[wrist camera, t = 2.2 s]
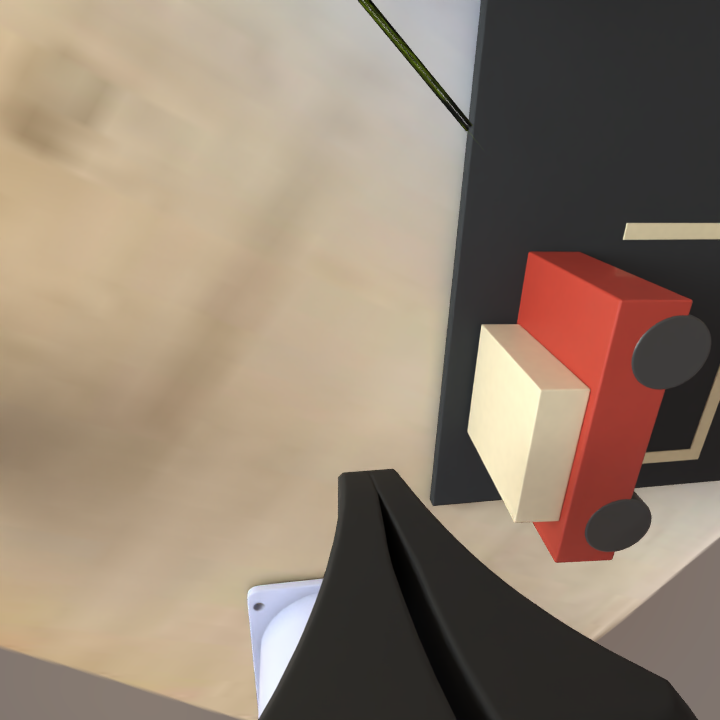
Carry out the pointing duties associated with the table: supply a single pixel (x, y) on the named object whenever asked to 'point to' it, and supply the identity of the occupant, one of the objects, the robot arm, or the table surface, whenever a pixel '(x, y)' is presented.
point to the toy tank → (419, 63)
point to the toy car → (580, 399)
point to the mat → (589, 196)
